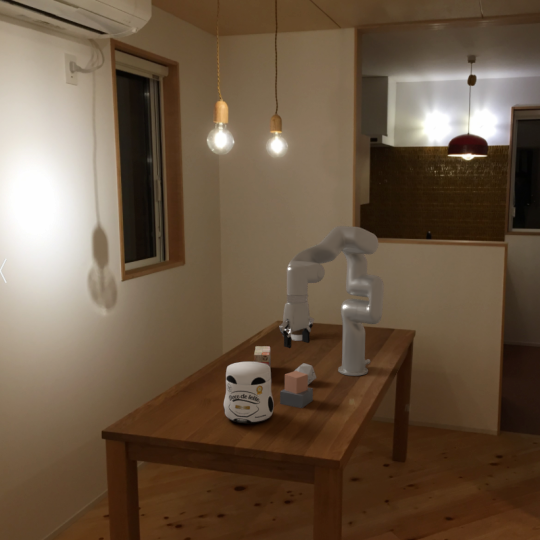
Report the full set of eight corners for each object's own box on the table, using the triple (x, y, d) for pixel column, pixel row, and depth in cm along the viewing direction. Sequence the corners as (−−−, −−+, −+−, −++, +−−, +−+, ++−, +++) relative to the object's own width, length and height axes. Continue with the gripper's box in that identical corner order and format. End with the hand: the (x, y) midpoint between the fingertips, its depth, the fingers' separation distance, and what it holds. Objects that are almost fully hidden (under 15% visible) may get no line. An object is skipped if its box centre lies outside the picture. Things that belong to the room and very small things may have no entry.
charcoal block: (291, 397, 241) (291, 384, 240) (312, 401, 237) (312, 388, 236) (280, 404, 233) (280, 391, 232) (302, 409, 229) (302, 395, 228)
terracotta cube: (295, 386, 238) (295, 370, 237) (307, 390, 234) (307, 374, 233) (284, 389, 234) (284, 374, 233) (296, 393, 230) (296, 378, 229)
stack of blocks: (256, 367, 277) (256, 340, 275) (270, 367, 276) (270, 340, 275) (253, 383, 255) (253, 354, 254) (269, 383, 255) (269, 354, 253)
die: (295, 388, 251) (310, 371, 248) (286, 373, 257) (300, 356, 254) (309, 391, 256) (323, 375, 253) (300, 376, 262) (314, 360, 259)
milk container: (233, 431, 208) (233, 378, 205) (217, 413, 224) (216, 364, 221) (281, 423, 215) (282, 372, 212) (262, 406, 231) (262, 358, 228)
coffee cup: (288, 336, 329) (288, 313, 328) (309, 336, 328) (309, 314, 326) (285, 341, 319) (286, 318, 317) (307, 342, 317) (307, 319, 315)
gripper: (305, 294, 237) (305, 338, 240) (272, 300, 225) (272, 347, 228) (320, 296, 232) (320, 342, 235) (288, 303, 220) (287, 351, 223)
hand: (296, 344), depth 231 cm, fingers open, 9 cm apart
